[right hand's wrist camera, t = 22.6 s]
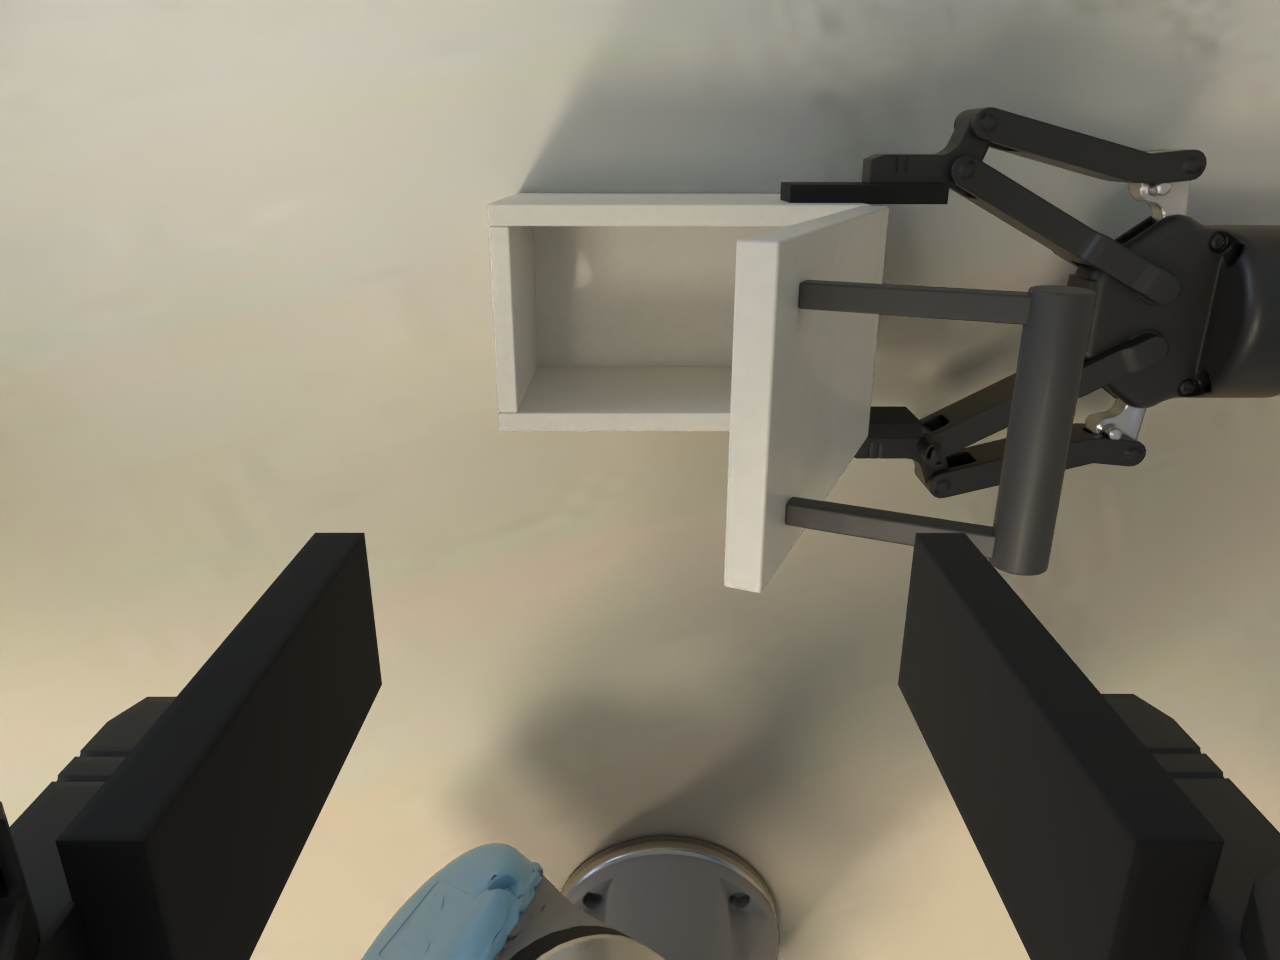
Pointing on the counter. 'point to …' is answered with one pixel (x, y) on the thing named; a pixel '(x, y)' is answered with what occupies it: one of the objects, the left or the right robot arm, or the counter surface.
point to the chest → (621, 305)
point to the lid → (842, 389)
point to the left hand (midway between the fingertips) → (778, 312)
